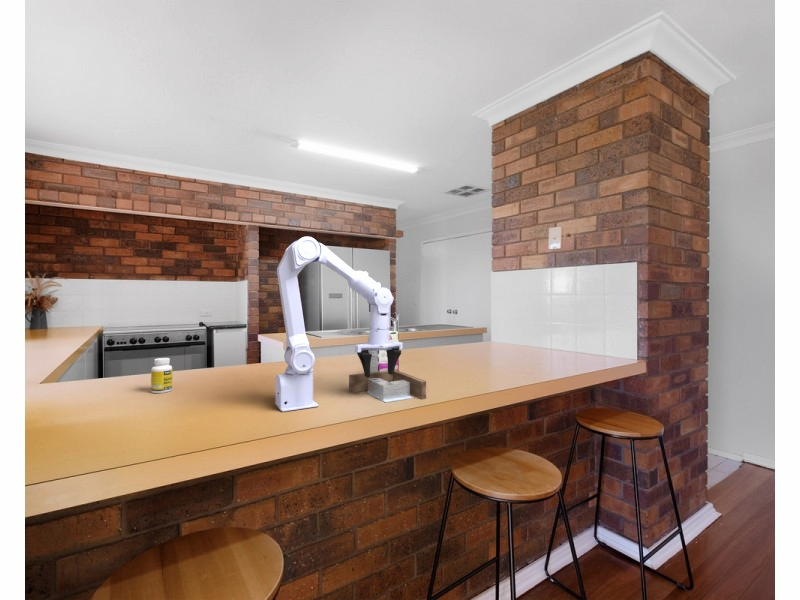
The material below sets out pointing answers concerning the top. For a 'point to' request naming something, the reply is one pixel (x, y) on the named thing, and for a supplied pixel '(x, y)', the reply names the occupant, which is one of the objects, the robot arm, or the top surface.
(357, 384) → the corner fence
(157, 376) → the supplement bottle
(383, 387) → the grey speckled block
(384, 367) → the candy bar box
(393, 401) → the pad
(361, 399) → the top surface
